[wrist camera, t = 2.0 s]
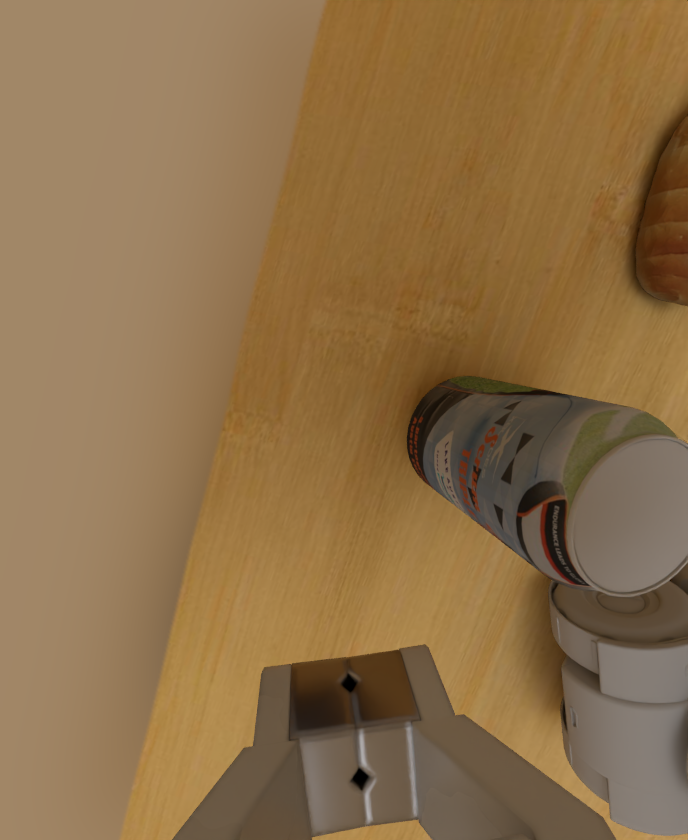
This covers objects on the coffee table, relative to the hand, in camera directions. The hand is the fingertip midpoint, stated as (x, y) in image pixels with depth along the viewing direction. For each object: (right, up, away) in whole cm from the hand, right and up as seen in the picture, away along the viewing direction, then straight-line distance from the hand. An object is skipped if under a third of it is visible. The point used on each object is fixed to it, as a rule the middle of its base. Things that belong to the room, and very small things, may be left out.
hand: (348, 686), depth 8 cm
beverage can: (+6, +4, +16) cm, 18 cm away
